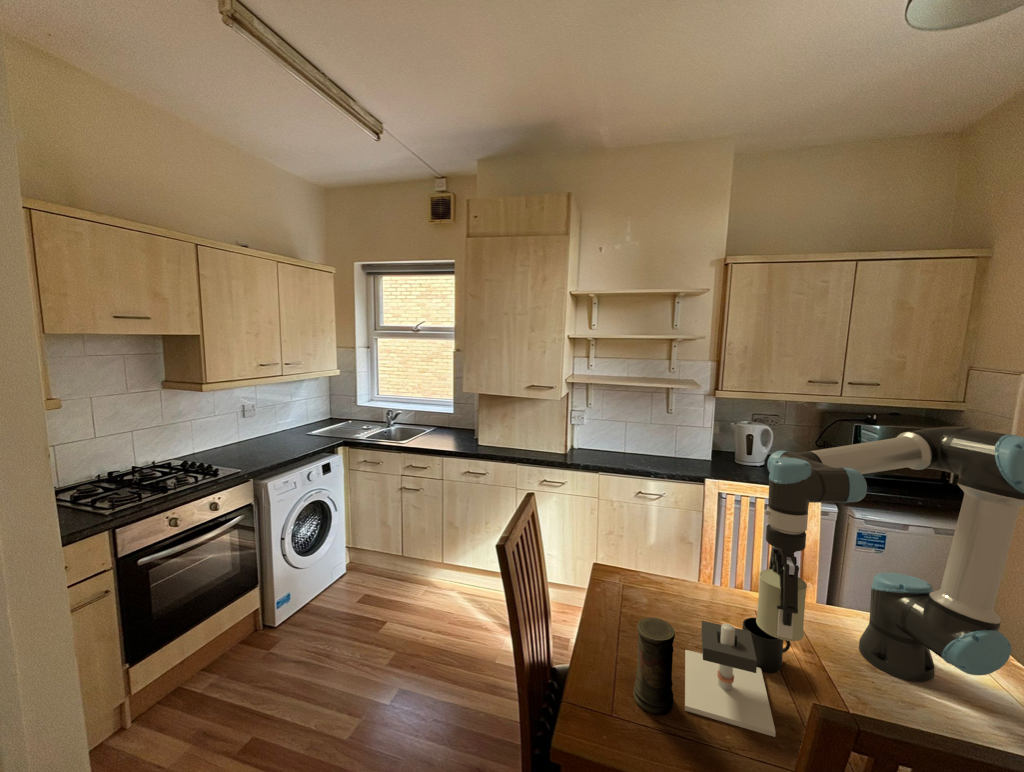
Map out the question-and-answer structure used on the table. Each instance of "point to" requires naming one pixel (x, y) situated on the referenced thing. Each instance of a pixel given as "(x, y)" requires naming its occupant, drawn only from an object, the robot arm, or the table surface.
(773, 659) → the mug
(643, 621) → the container
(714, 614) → the table surface
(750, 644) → the grey square plate
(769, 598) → the can
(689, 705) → the peg stand
